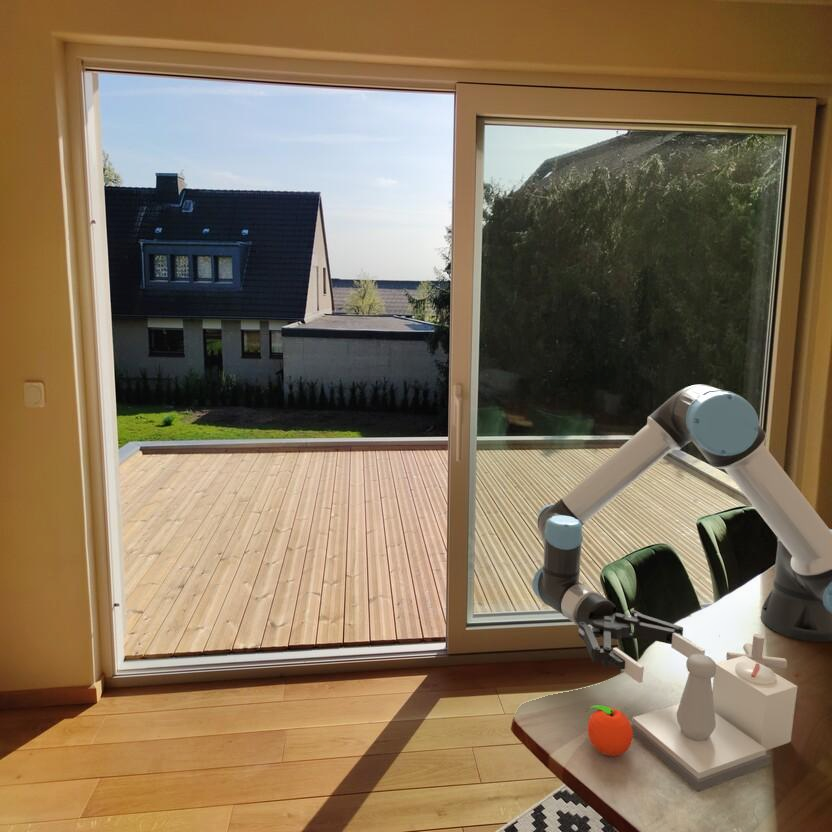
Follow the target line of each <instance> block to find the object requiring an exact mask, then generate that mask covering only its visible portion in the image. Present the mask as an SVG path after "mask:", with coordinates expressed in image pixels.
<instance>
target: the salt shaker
mask: <svg viewBox="0 0 832 832" xmlns="http://www.w3.org/2000/svg"><path fill="white" fill-rule="evenodd" d="M685 663H686V664H685V665H686V670H687V672H688V676H687V679H686V683H685V685H684V689H683V691H682V695H681V698H680V701H679V703H678V704H679V707H678V710H677V713H676V715H677V720H678V723H679V725H680V728H681V730H682V732H683V734H684V735H685V736H686V737H688V738H690V739H692V740H695V741H704V740H707V739H708V738H709V737H710V735H711V734H712V732H713V731H714V729H715V727H716V721H715V712H714V703H713V695H712V689H713V683H712V678H714V675H715V674H716V664H715V663H716V662H715V661H714V659H712V658H711V657H709V656H707V655H706V654H705V655H702V654H693V655H691V656H689V657H687V659H686V662H685Z"/></svg>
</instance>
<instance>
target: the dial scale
mask: <svg viewBox="0 0 832 832" xmlns="http://www.w3.org/2000/svg"><path fill="white" fill-rule="evenodd" d="M715 664H716V674H715V675H714V677H713V680H712V681H713V682H712V695H713V703H714V712H715V721H716V727H715V729H714V731H713V732H712V734H711V735H710V737H709V738H708V739H707V740H704V741H695V740H692V739H690V738H688V737H686V736H685V735H684V734H683V732H682V730H681V728H680V725H679V723H678V720H677V715H676V713H677V710H678V707H679V704H680V703H676V704H672V705H670V706H666V707H663V708H660V709H657V710H656V709H655V710H652V711H650V712H647V713H643V714H640V715H636V716H632V720H629V722H630V724H631V726H632V730H633V737H634V738H636V739H637V740H638V741H639V742H641V744H642V745H644V746H645V747H646V748H647V749H648V750H650V752H652V753H653V754H654V755H655V756H656V757H658V758H659V760H661V761H662V762H664V763H665V764H666V765H667V766H668V767H669V768H670V769H671V770H673V771H674V772H675V773H676V774H677V775H678V776H679V777H681V778H682V779H683V780H684V781H685V782H686V783H688V784H689V785H690V786H691V787H692V788H693V789H695V790H696V791H697V792H700V791H704V790H706V789H707V788H711V787H713V786H716V785H719V784H721V783H724V782H728V781H729V780H731V779H734V778H737V777H740V776H744V775H745V774H748V773H750V772H753V771H756V770H759V769H762V768H764V767H765V768H766V767H767V766H770V763H771V757H772V756H771V755H770V754H769V753H767V751H769V750H772V749H775V748H778V747H780V746H784V745H786V744H789V743H791V740H792V733H793V725H794V716H795V709H796V699H797V691H798V685H796V684H795V683H793V682H791V681H789V680H787V679H785V678H784V677H783V676H781V675H779V674H777V673H775V671H773V670H772V669H771V667H766V666H764V665H762V664H759V663H757V662H755V661H753V660H751V659H750V658H748V657H746V656H741V657H737V658H733V659H730V660H727V659H726V660H723V661H719V662H715Z"/></svg>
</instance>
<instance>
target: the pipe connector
mask: <svg viewBox="0 0 832 832" xmlns="http://www.w3.org/2000/svg"><path fill="white" fill-rule="evenodd" d="M764 643H765V636H764V635H763V634H761V633H753V636H752V643H750V642H746V643H744V644H743V647H742V648H743V651H744V652H745V653H737V652H730V651H727V652H726V657H725V658H726V660H730V659H733V658H737V657H741V656H746V657H748V658H750V659H751V660H753V661H755V662H757V663H759V664H762V665H764V666H766V667H768V668H775V669H783V670H787V668H788V661H787V659H786V658H784V657H783V658H782V657H776V656H774V657H773V656H766V655H763V654H764Z"/></svg>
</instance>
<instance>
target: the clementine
mask: <svg viewBox="0 0 832 832" xmlns="http://www.w3.org/2000/svg"><path fill="white" fill-rule="evenodd" d="M591 708H593V709H594V708H596V710H595V711H594V712H593V713H592V715H590V717H589V719H588V721H587V723H588V724H587V733H588V734H587V735H588V738H589V741H590V742H591V744H592V745H593V747H594V748H595V749H596V750H597V751H599V752H600V753H601V754H604V755H606V756H621V755H622V754H623V753H625V752H626V751H628V750H629V748H630V747H631V745H632V742H633V739H634V738H633V737H634V735H633V730H632V726H631V724H630V722H629V721H630V720H629V718H628V717H627V716H626V715H625V714H624V713H623V712H621V711H620V710H619V709H617V708H614V707H608V706H605V705H602V704H597V705H595V704H594V705H591V706H590V707H588V708H587V709H586V711H585V713H587V712H588V710H590V709H591Z"/></svg>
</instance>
